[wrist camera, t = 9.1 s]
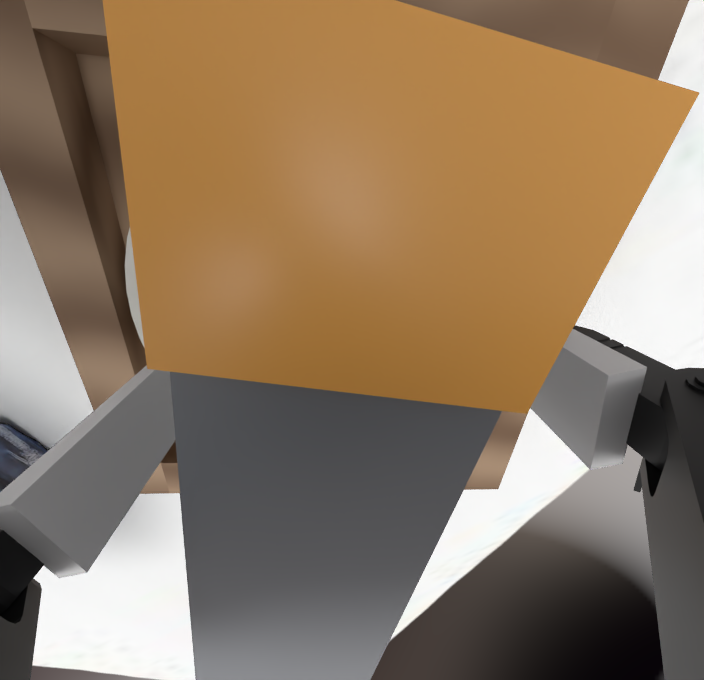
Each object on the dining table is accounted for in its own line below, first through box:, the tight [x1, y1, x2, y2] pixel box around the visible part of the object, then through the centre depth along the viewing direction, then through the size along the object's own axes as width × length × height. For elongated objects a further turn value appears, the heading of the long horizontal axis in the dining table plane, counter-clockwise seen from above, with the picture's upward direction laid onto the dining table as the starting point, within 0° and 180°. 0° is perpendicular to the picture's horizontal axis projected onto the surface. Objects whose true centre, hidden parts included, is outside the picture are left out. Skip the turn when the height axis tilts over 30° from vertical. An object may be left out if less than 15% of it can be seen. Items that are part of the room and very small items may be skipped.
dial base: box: [0, 0, 689, 494], centre depth 18 cm, size 28×28×4 cm
